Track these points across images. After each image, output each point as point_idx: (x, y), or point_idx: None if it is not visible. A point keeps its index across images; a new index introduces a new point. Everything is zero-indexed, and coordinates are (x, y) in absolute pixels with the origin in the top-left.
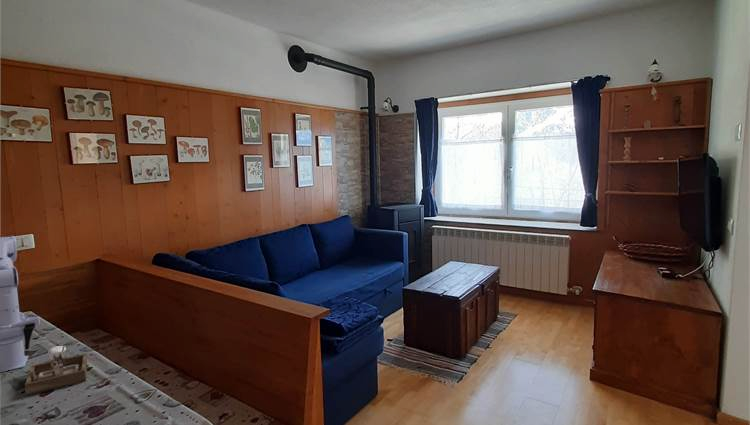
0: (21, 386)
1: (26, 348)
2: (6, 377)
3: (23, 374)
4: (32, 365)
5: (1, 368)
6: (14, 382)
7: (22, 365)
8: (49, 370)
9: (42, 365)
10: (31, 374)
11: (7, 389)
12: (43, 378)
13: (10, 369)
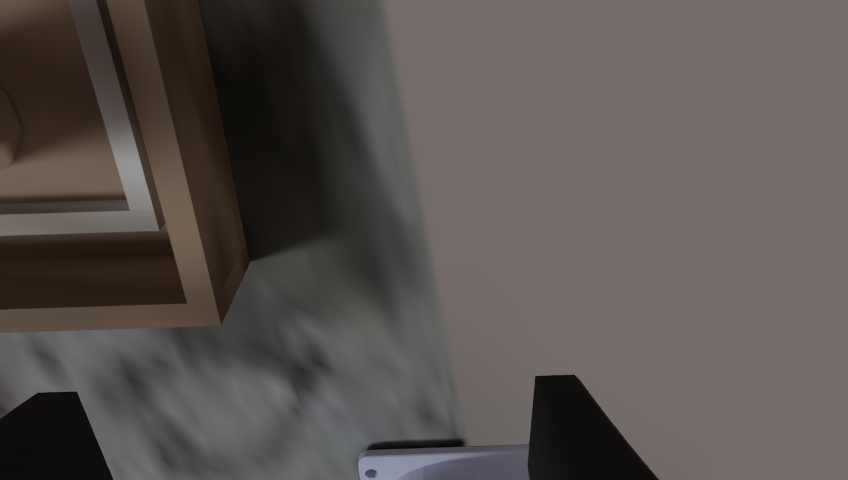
0: (282, 83)
1: (43, 406)
2: (447, 347)
3: (335, 335)
4: (214, 325)
5: (497, 476)
6: (367, 216)
7: (372, 469)
8: (80, 231)
9: (126, 296)
10: (125, 65)
11: (392, 90)
12: (100, 112)
13: (441, 450)
